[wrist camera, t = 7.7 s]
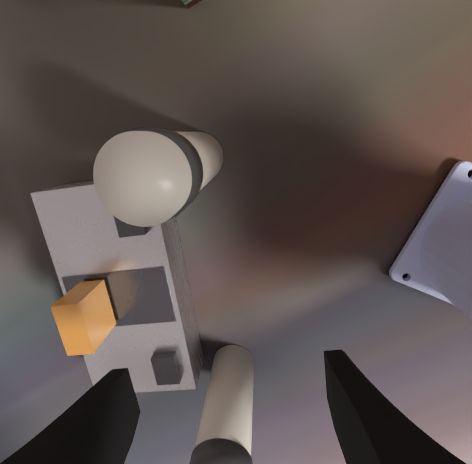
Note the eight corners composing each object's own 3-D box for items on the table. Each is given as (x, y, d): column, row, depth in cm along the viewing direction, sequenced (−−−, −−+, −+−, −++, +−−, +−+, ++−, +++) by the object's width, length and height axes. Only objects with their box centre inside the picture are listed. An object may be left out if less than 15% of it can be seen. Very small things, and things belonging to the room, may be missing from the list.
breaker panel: (166, 170, 20) (146, 178, 17) (203, 358, 24) (194, 395, 20) (62, 184, 21) (22, 195, 17) (115, 364, 25) (91, 401, 21)
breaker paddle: (103, 279, 19) (77, 303, 16) (116, 323, 20) (93, 353, 17) (80, 281, 19) (50, 306, 16) (93, 325, 20) (67, 355, 17)
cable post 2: (262, 353, 23) (262, 504, 14) (245, 385, 24) (235, 547, 15) (221, 337, 23) (193, 479, 14) (206, 370, 24) (170, 523, 15)
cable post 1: (232, 142, 19) (204, 152, 10) (214, 191, 20) (171, 244, 11) (183, 121, 19) (104, 110, 9) (166, 171, 20) (79, 207, 10)
